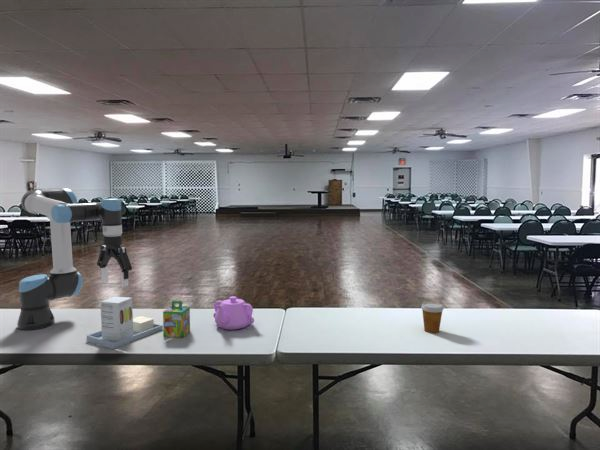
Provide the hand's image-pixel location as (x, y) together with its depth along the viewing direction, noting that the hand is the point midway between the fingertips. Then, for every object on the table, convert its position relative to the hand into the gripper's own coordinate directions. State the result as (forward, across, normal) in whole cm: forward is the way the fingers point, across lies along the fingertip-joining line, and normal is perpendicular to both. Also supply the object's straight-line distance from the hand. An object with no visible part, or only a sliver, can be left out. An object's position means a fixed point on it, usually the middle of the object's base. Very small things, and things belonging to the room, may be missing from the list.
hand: (114, 284), depth 182 cm
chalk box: (+24, +19, +17) cm, 35 cm away
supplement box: (+24, +1, 0) cm, 24 cm away
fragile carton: (+23, +1, +12) cm, 26 cm away
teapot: (+24, +34, +36) cm, 55 cm away
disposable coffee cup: (+23, +116, +77) cm, 141 cm away
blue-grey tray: (+24, +1, +4) cm, 24 cm away
